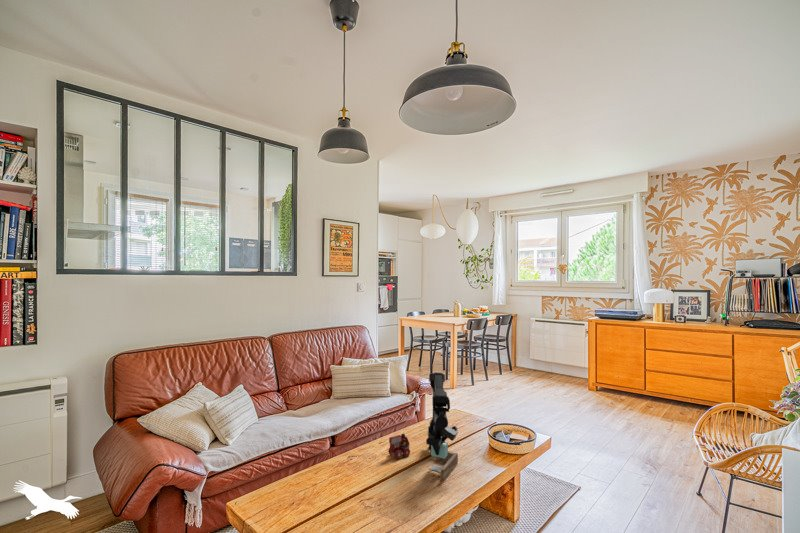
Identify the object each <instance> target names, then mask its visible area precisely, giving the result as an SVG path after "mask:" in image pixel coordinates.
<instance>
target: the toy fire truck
mask: <svg viewBox="0 0 800 533" xmlns="http://www.w3.org/2000/svg"><path fill="white" fill-rule="evenodd" d="M388 443H389V448H388V450H387V451H388V454H389V455H390V456H394V458H395V460H400V459H401V458H402V456H403V457H405V458H406V456H407V457H409V456H410V454H411V450H410V441H409V438H408V436H406V434H405V433H402V434H399V435H398V434H397V435H395V436H391V437H389V438H388Z"/></svg>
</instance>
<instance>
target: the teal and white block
mask: <svg viewBox="0 0 800 533" xmlns="http://www.w3.org/2000/svg"><path fill="white" fill-rule="evenodd" d="M441 442H442V441H441ZM448 445H449V442H447V441H446V442H443V443H442V444H441V445H440V450H439V455H436V453H435V451H434V448H433V446H432V445H431V450H430V456H432V457H435V458H436V457H439V458H443V459H445V458H446V457H447V456H448V451H449V446H448Z"/></svg>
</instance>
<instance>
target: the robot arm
mask: <svg viewBox="0 0 800 533" xmlns="http://www.w3.org/2000/svg"><path fill="white" fill-rule="evenodd" d="M428 382H429V384H430V387H431V388H432V398H431V400H432V404H431V405H432V416H431V419H430V421H429V426H428V427H427V438H426V440H425V441H426V442H425V443H426V445H428V447H427V450H430V451H431V445H432V446H433V448H434V451H435V453H436V455H439V450H440V445H441V444H442V443H443V442H445V441H447V439H449V440H450V441H452V442H453V441H454V440H456V438H457V435H458V433H459V431H458V426H456V425H453V426H449V421H448V416H447V413H450V409H451V403H450V402H451V400H450V397H449V396H448V393H447V391H445V389H444V383H445V382H446V375H445V374H444V373H442V372H437V371H436V372H431V373H429V374H428ZM441 441H442V442H441Z"/></svg>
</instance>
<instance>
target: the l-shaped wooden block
mask: <svg viewBox="0 0 800 533" xmlns="http://www.w3.org/2000/svg"><path fill="white" fill-rule="evenodd" d="M435 460H437V461H440V462H444V463H445V464H444V465H443V466H439V465H436V464H432V465H431V466H430V467H429V468H428V470H430V471H433V472H436V473H439V474H440V481H442V482H445V481H446V479H447V478H448V476H450V474H451V473H452V472H453V471H454V469H455V468H456V466H457V465H458V462H459V454H458V452H455V451H449V450H448V456H447V457H446V458H445V459H443V458H439V457H435Z"/></svg>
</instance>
